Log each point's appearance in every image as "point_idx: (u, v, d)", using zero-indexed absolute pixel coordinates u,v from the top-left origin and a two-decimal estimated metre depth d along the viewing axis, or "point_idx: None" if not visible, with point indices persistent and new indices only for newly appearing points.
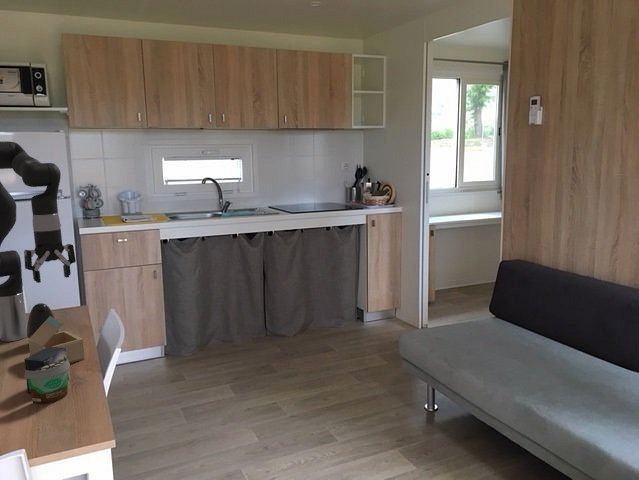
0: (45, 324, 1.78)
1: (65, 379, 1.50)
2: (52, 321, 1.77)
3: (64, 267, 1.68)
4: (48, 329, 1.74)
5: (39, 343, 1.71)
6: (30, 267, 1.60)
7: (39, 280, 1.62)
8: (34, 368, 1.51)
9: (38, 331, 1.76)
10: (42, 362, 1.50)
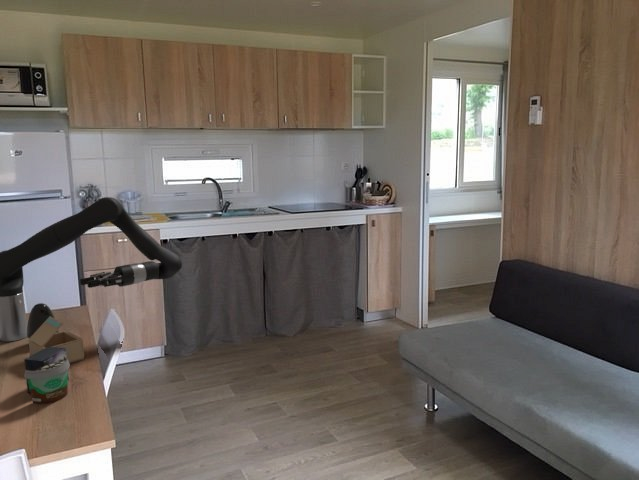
0: (45, 324, 1.78)
1: (65, 379, 1.50)
2: (52, 321, 1.77)
3: (90, 280, 1.86)
4: (48, 329, 1.74)
5: (39, 343, 1.71)
6: None
7: None
8: (34, 368, 1.51)
9: (38, 331, 1.76)
10: (42, 362, 1.50)
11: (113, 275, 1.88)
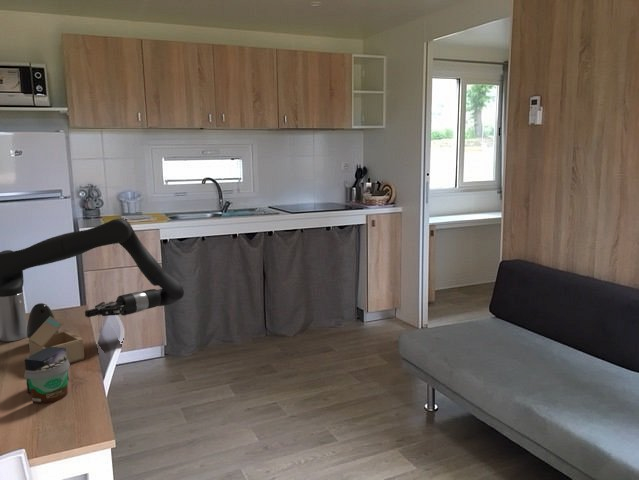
0: (45, 324, 1.78)
1: (65, 379, 1.50)
2: (52, 321, 1.77)
3: None
4: (48, 329, 1.74)
5: (39, 343, 1.71)
6: None
7: None
8: (34, 368, 1.51)
9: (38, 331, 1.76)
10: (42, 362, 1.50)
11: (115, 305, 1.89)
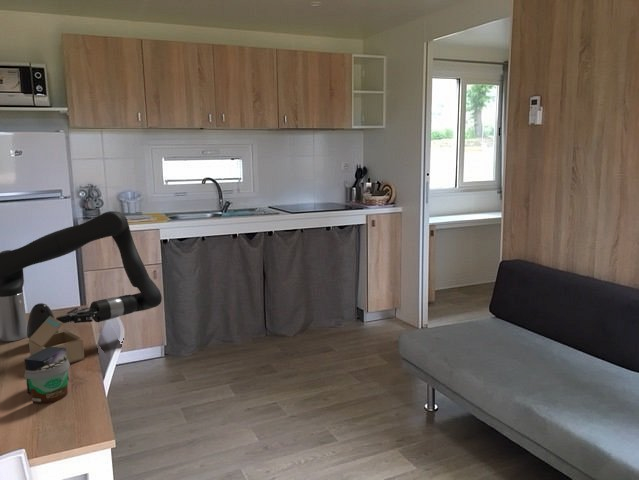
0: (45, 324, 1.77)
1: (65, 379, 1.50)
2: (52, 321, 1.76)
3: None
4: (48, 329, 1.74)
5: (39, 343, 1.71)
6: None
7: None
8: (34, 368, 1.51)
9: (38, 331, 1.76)
10: (42, 362, 1.50)
11: (88, 311, 1.82)
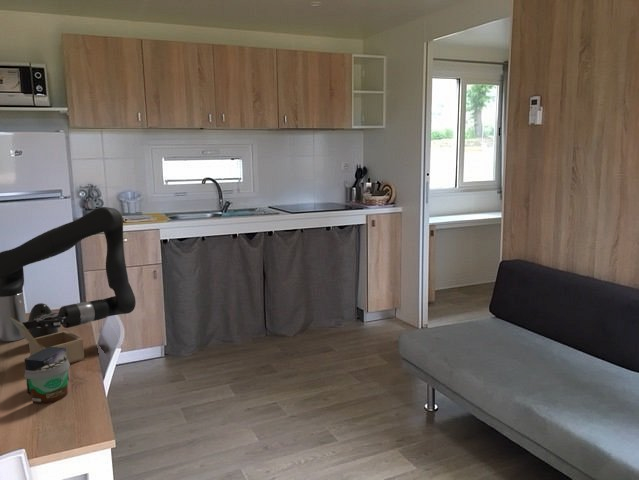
0: (17, 326, 1.71)
1: (65, 379, 1.50)
2: (16, 324, 1.68)
3: None
4: (23, 331, 1.69)
5: (35, 344, 1.70)
6: None
7: None
8: (34, 368, 1.51)
9: (22, 333, 1.73)
10: (42, 362, 1.50)
11: (56, 316, 1.75)
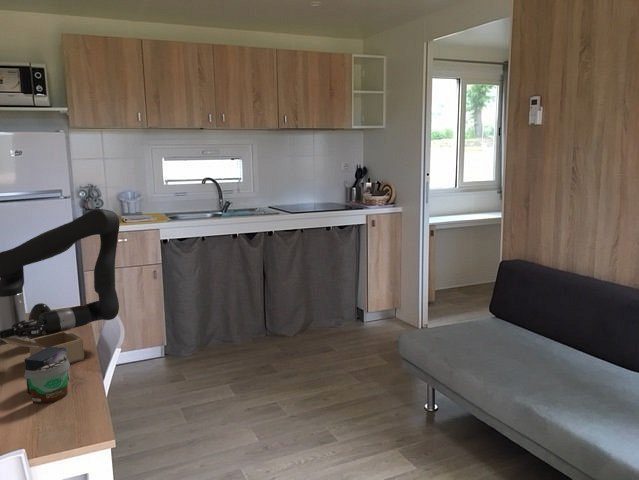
0: (8, 338, 1.70)
1: (65, 379, 1.50)
2: None
3: None
4: (15, 342, 1.67)
5: None
6: None
7: None
8: (34, 368, 1.51)
9: (17, 340, 1.72)
10: (42, 362, 1.50)
11: (34, 324, 1.70)
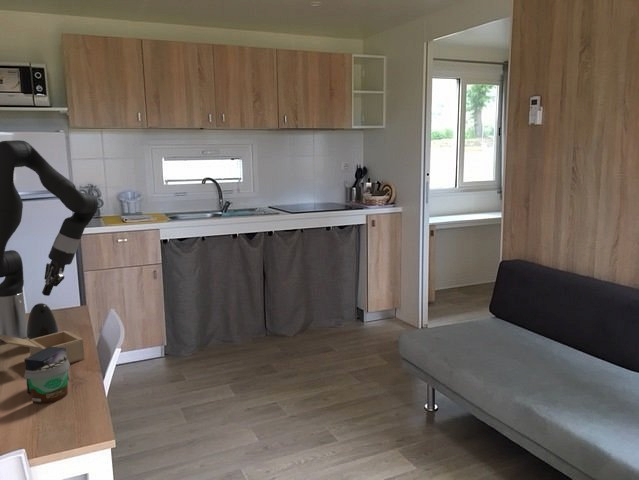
0: (8, 338, 1.70)
1: (65, 379, 1.50)
2: None
3: None
4: (15, 342, 1.67)
5: None
6: None
7: None
8: (34, 368, 1.51)
9: (17, 340, 1.72)
10: (42, 362, 1.50)
11: (54, 269, 1.78)
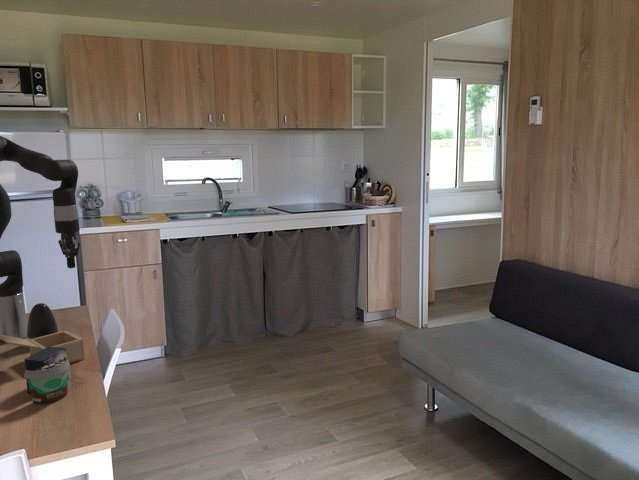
0: (8, 338, 1.70)
1: (65, 379, 1.50)
2: None
3: None
4: (15, 342, 1.67)
5: None
6: None
7: None
8: (34, 368, 1.51)
9: (17, 340, 1.72)
10: (42, 362, 1.50)
11: (67, 241, 1.81)
